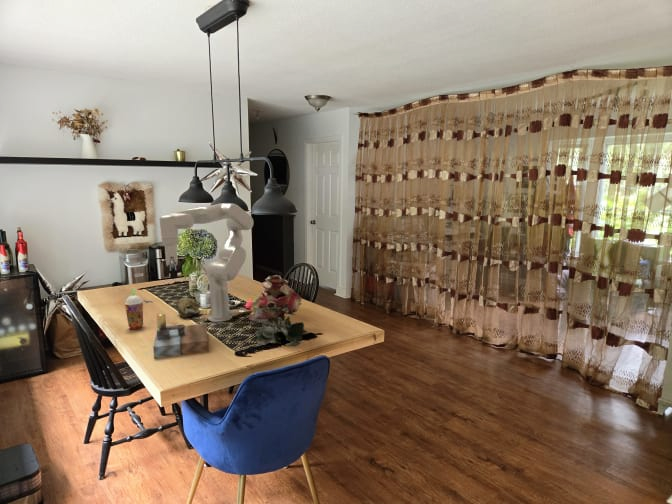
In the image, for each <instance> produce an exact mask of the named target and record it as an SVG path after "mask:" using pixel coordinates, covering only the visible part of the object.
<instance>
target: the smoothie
mask: <svg viewBox="0 0 672 504" xmlns="http://www.w3.org/2000/svg"><path fill="white" fill-rule="evenodd" d="M134 291H135V290H134V289H132V290H131V293H132V294H131V295H130V296H128V297H127V298H126V300H125V302H124V307H125V312H126V313H125V314H126V317H127V318H126V319H127V323H128V327H129V329H130V330H139V329H140V330H141V329H142V327H143V326H144V308H143V307H144V303H143V302H144V301H143V300H142V298H141V297H140V296H139V295H136V294H134V293H135V292H134Z"/></svg>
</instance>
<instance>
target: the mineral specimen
mask: <svg viewBox="0 0 672 504" xmlns="http://www.w3.org/2000/svg"><path fill="white" fill-rule="evenodd" d="M175 306H176V308H175V309H176V311H177V312H178V314H179V317H181V318H189V317H192V316H195V315H198V314H200V313H201V310H200V309H199V308H200V307H201V306H200V303H199V302H197V301H193V299H191V298H189V297H183V298H181V299H180V300H178V301H177V303H175Z"/></svg>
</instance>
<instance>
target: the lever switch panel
mask: <svg viewBox="0 0 672 504" xmlns="http://www.w3.org/2000/svg"><path fill="white" fill-rule="evenodd" d="M207 332H208V330H207V323H197V324H188V325H185V328H184V329H176V330H169V329H165V330H159V329H158V328H157V330H156V333H155V339H154V341H153V346H152V347H153V358H154V359H160V358H161V359H162V358H168V357H175V356H182V355H189V354H190V355H191V354H197V353H205V352H209V341H208V339H209V338H208V333H207Z"/></svg>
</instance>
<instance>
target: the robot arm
mask: <svg viewBox="0 0 672 504" xmlns="http://www.w3.org/2000/svg"><path fill="white" fill-rule="evenodd" d="M221 220H226V221H225V222H226V227H227V230H228V231H227V232H228V233H227V238H225V241H224V243H223V245H222V246H221V248H220V250H219V251H218V255H217V256H218V259H219V260H218V261H217V260H216V261H215V260H214V261H211V262H210V263H209V264H208V265H207V266H206V271H205V272H206V276H207V280H208V286H209V302H210V315H209V316H208V317H207V318H208V321H210V322H212V323H213V322H214V323H221V322H226V321H230V320H232V319H233V315H238V314H239V311H238V310H236V309H232V310H231V309H230V305H229V302H230V301H229V287H228V283H227V282H231V281H234V280H235V279H236V277H237V276H238V274H239V272H240V270H241V269H242V267H243V265H244V263H245V261H246V258H247V252H246V250H245V248H244V247H242V243H243V241H244V240H243V239H244V238H243V236H244V235H243V233H242V231H249V230H252V228H253V227H254V223H255V222H254V219H253V217H252V216H251V215H250V214H249V213H248V212H247V211H246V210H244V209H243V208H241V206H239V205H238V204H236V203H231V202H229V203H228V202H225V203H222V202H220V203H217V204H212V205H207V206H203V207H196V208H191V209H184V210H180V211H176V212H175V211H174V212H172V213H170V214H166V215H161V216H159V226H160V227H159V228H160V236H161V245H162V246H164V254H165V263H166V266H167V267H169V277H170V279H171V280H173V279H178V273H179V272H178V259H179V258H178V246H177V245H179V244H180V240H179V239H180V238H179V230H188V229H190V228H192V227H193V226H194V224H196V225H203V224H204V225H205V224H210V223H214V222H218V221H221Z"/></svg>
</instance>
